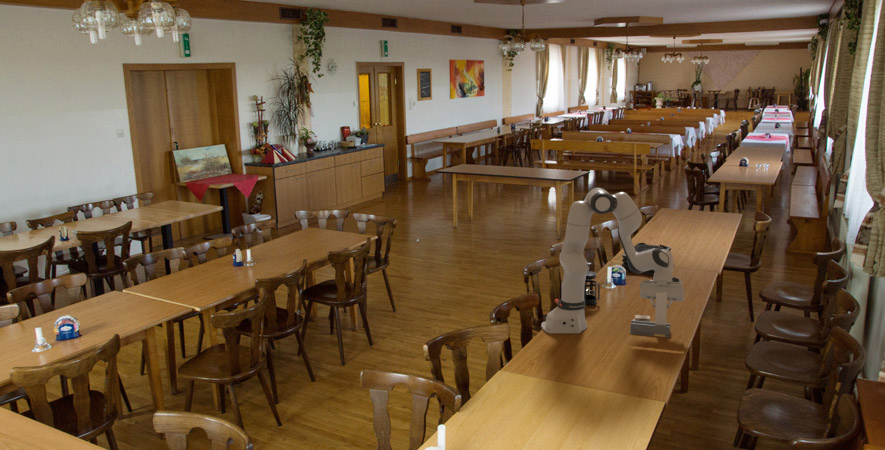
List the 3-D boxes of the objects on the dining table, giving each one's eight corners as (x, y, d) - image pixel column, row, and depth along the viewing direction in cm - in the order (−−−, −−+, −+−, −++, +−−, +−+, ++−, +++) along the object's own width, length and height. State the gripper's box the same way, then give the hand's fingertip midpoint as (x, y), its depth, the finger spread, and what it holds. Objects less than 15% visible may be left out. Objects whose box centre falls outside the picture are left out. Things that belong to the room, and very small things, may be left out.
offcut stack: (632, 327, 327) (632, 317, 326) (633, 323, 332) (633, 314, 331) (649, 329, 324) (650, 319, 323) (650, 325, 329) (650, 315, 328)
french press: (575, 303, 366) (575, 263, 361) (582, 298, 374) (582, 259, 369) (595, 307, 359) (596, 266, 354) (602, 302, 367) (603, 262, 362)
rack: (629, 335, 319) (630, 325, 318) (632, 325, 332) (632, 315, 331) (669, 339, 313) (669, 329, 312) (670, 329, 326) (670, 319, 325)
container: (671, 262, 440) (671, 243, 437) (656, 276, 411) (657, 255, 408) (637, 258, 451) (638, 239, 449) (620, 271, 423) (621, 251, 420)
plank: (654, 324, 319) (655, 292, 315) (655, 323, 321) (656, 291, 317) (665, 325, 317) (667, 293, 314) (666, 324, 319) (667, 292, 315)
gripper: (640, 276, 324) (638, 302, 317) (684, 279, 317) (683, 306, 310) (640, 282, 329) (638, 308, 322) (684, 285, 322) (683, 311, 315)
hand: (661, 307), depth 316 cm, fingers closed on plank, 5 cm apart
